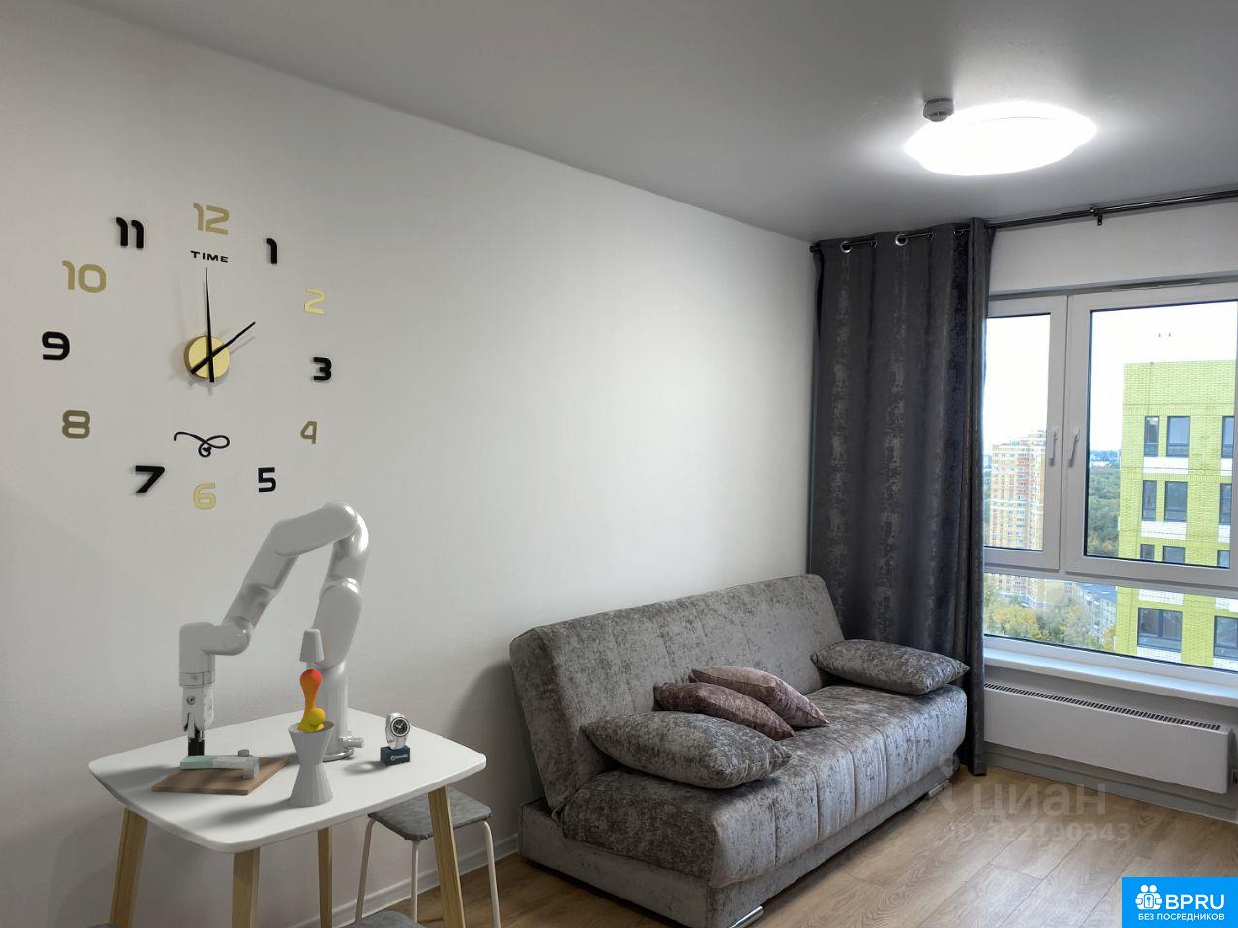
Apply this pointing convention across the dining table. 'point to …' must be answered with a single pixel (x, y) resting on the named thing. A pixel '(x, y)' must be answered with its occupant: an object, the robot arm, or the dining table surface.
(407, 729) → the watch
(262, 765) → the board
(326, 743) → the lava lamp
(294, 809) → the dining table surface
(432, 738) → the dining table surface
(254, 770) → the keeper
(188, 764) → the link
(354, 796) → the dining table surface
